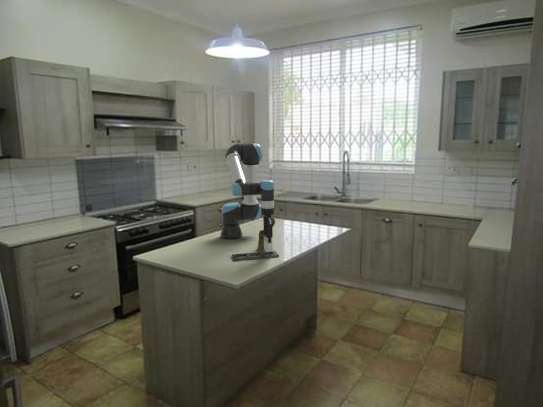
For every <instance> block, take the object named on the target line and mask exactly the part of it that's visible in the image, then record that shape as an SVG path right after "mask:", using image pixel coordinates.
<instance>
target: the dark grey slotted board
mask: <svg viewBox="0 0 543 407" xmlns="http://www.w3.org/2000/svg"><path fill="white" fill-rule="evenodd" d="M279 257H280V254H279V253H278V252H277V251H276V250H272V251H270V252H265V251H257V252H245V253H244V252H243V253H235V254H234V253H233V254H231V258H232V260H233V261H234V262H239V261H240V262H241V261H250V260H259V259H271V258H272V259H273V258H279Z"/></svg>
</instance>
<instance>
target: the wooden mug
mask: <svg viewBox="0 0 543 407" xmlns="http://www.w3.org/2000/svg"><path fill="white" fill-rule="evenodd" d="M271 218H272V221H273V227H274V226H275V224H276V219H275V218H274V217H271ZM264 235H265V234H264V229H262V230H259V232H258V242H257V248H256V249H257V250H259V251H265V250H264Z"/></svg>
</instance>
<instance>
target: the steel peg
mask: <svg viewBox="0 0 543 407" xmlns="http://www.w3.org/2000/svg"><path fill="white" fill-rule="evenodd" d="M266 237H267V235H264V250H263V251H264V252H270V251H273V247H272V248H268V249H267V238H266Z"/></svg>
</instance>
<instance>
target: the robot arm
mask: <svg viewBox="0 0 543 407" xmlns="http://www.w3.org/2000/svg"><path fill="white" fill-rule="evenodd" d="M262 150H263V149H262V147H261V145H260V144H259V143H253V142H251V143H235V144H232V145H231V146H230V147H228V149H227V150H226V152H225V156H224V158H225V162H226V164H227V165H228V167H229V171H230V176H231V178H232V182H233V183H232V184H231V195H232V196H233V197H243V200H242V201H241V204H240V203H239V202H236V201H235V202H230V203H229V202H228V203H225V204H223V205H222V207H221V213H222V215H221V216H222V227H221V230H220V238H221V239H225V240H235V239H236V240H237V239H240V238H242V237H243V231H242V229H241V226H240V222H246V221H248V222H249V221H257V220H259V219H260V218H261V216H262V219H263V220H262V221H263V230H264V234H265V235H267V237H266V238H267V249H268V248H272V249H273V237H274V236H273V235H274V234H273V227H274V226H273V221H272V218H273V217H272V216H273V215H275V208H274V207H275V183H274V182H275V181H273V180H271V179H265V180H264V179H263V180H260V181H257V180H258V178H257V177H258V166H259V165H260V162H261V161H262V160H263V151H262ZM241 163H242V164H241ZM242 165H243V166H244V169H243V167H242ZM257 196H260V202H259V200H258V198H257Z"/></svg>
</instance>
